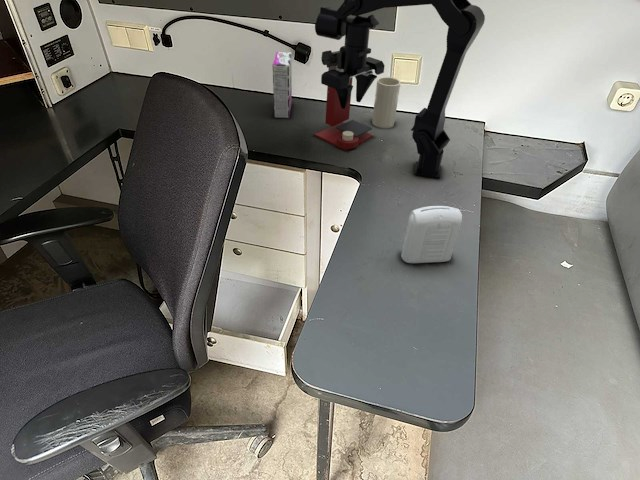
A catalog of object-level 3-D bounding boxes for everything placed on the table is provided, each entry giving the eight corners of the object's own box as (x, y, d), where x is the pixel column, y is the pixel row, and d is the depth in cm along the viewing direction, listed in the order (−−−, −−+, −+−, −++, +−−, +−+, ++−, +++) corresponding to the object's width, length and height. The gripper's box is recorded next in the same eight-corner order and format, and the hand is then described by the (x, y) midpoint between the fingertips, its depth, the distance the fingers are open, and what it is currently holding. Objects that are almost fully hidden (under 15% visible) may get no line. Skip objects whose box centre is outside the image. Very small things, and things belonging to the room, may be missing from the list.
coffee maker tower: (372, 129, 135) (380, 66, 124) (356, 137, 131) (362, 73, 120) (341, 116, 141) (346, 55, 130) (325, 123, 137) (328, 61, 126)
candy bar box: (276, 103, 152) (275, 51, 142) (291, 104, 152) (292, 51, 142) (273, 118, 144) (271, 63, 133) (289, 119, 144) (289, 64, 133)
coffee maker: (376, 138, 136) (377, 130, 135) (348, 153, 129) (349, 145, 127) (341, 123, 143) (341, 116, 141) (313, 136, 135) (313, 128, 134)
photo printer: (446, 249, 99) (459, 200, 91) (453, 262, 96) (468, 213, 88) (398, 251, 97) (408, 202, 90) (404, 265, 94) (414, 215, 86)
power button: (355, 139, 131) (355, 133, 130) (348, 142, 129) (348, 136, 128) (346, 135, 132) (347, 129, 131) (339, 138, 131) (340, 133, 129)
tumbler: (392, 129, 141) (399, 87, 133) (370, 126, 142) (375, 84, 134) (394, 120, 146) (401, 78, 138) (373, 117, 147) (378, 75, 139)
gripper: (354, 29, 124) (349, 87, 134) (305, 43, 113) (304, 105, 123) (389, 39, 119) (381, 99, 128) (341, 55, 108) (336, 119, 117)
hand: (350, 104), depth 124 cm, fingers open, 6 cm apart
